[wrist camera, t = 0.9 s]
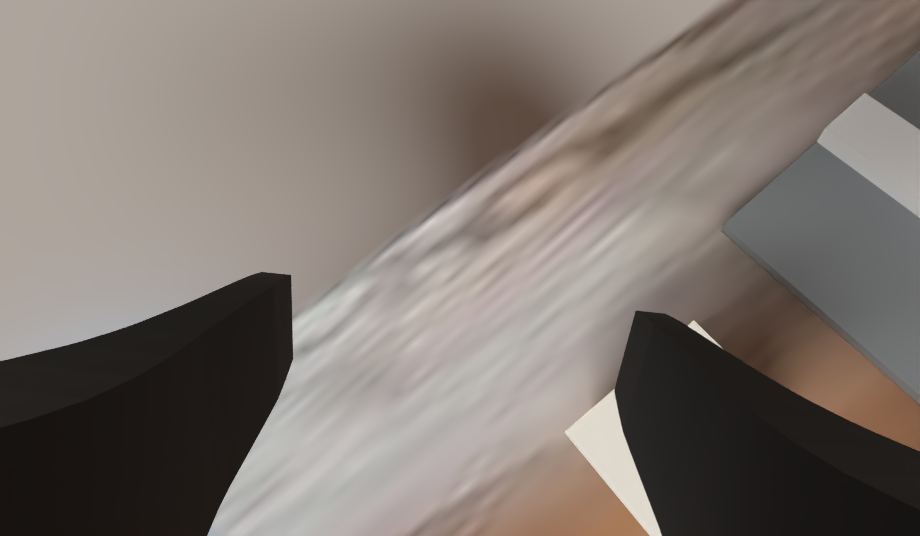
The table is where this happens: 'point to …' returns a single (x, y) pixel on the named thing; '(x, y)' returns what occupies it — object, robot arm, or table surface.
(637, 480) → the block
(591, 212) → the table surface
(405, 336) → the table surface
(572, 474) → the table surface
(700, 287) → the table surface
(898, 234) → the rail board
